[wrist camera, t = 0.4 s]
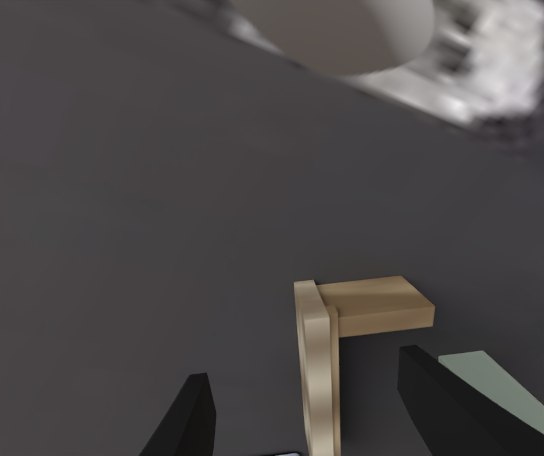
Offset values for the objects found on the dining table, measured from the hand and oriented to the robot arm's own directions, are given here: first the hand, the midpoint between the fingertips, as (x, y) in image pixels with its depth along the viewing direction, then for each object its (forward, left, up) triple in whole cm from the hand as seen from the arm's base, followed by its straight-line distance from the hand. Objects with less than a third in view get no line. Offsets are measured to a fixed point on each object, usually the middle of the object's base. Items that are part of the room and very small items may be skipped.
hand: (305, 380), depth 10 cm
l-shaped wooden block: (-10, -5, -10) cm, 15 cm away
